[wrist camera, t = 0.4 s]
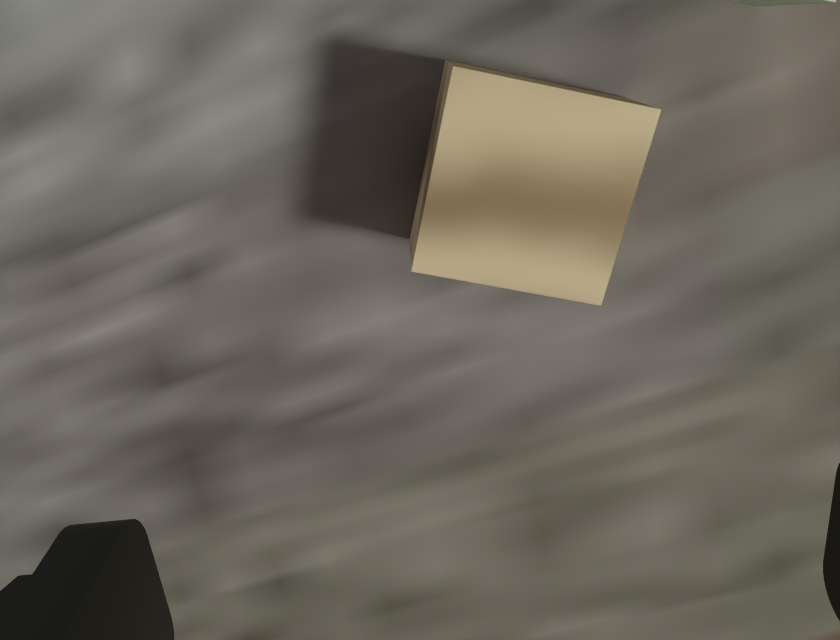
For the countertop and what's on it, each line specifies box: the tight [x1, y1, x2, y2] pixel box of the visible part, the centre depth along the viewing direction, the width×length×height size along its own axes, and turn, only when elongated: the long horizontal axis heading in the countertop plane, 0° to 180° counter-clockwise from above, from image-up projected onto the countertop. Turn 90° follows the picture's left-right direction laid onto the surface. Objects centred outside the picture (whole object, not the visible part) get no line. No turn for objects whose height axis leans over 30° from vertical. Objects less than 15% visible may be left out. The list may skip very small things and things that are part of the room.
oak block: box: [410, 60, 661, 306], centre depth 31 cm, size 8×8×5 cm
